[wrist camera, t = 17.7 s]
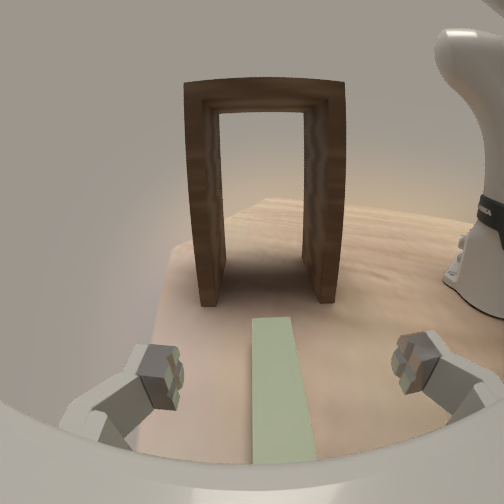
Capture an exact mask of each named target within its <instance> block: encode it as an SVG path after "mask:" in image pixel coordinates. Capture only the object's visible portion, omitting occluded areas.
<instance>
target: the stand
mask: <svg viewBox="0 0 504 504" xmlns="http://www.w3.org/2000/svg"><path fill="white" fill-rule="evenodd" d="M241 112H301V113H304V216H303V245H302V258H303V261H304V263H305V266H306V268H307V271H308V273H309V276H310V278H311V281H312V283H313V286H314V289H315V291H316V294H317V296H318V299H319V302H320V303H334V302H335V294H336V287H337V279H338V271H339V262H340V252H341V242H342V230H343V216H344V200H345V178H346V176H345V175H346V102H345V83H344V82H340V81H331V80H320V79H307V78H285V77H250V78H249V77H248V78H228V79H214V80H203V81H194V82H187V83H184V120H185V144H186V161H187V162H186V163H187V178H188V192H189V204H190V215H191V225H192V235H193V245H194V254H195V263H196V271H197V279H198V287H199V294H200V301H201V306H216V304H217V299H218V295H219V290H220V285H221V281H222V276H223V271H224V267H225V262H226V248H225V233H224V217H223V199H222V180H221V157H220V135H219V134H220V131H219V114H222V113H241Z"/></svg>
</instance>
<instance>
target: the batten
mask: <svg viewBox="0 0 504 504" xmlns="http://www.w3.org/2000/svg"><path fill="white" fill-rule="evenodd" d="M252 428H253V464H276V463H291V462H303V461H312V460H317V457H316V451H315V445H314V439H313V434H312V428H311V422H310V417H309V411H308V406H307V400H306V395H305V390H304V384H303V379H302V374H301V369H300V364H299V359H298V354H297V349H296V344H295V339H294V334H293V329H292V324H291V319H290V317H270V318H252Z"/></svg>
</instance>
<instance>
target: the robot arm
mask: <svg viewBox="0 0 504 504" xmlns="http://www.w3.org/2000/svg"><path fill="white" fill-rule="evenodd" d="M482 1H484V3H486V4H487V5H488V6H489V7H491V8H492V9H493V10H494V11H496V12H497V13H499V15H501V16H502V17H503V18H504V0H482ZM434 50H435V51H434V53H435V60H436V64H437V67H438V69H439V71H440V73H441V75H442V77H443V78H444V80H445V81H446V82H447V83H448V85H449V86H450V87H451V88H452V89H454V90H455V91H456V92H457V93H458V94H459V95H460V96H461V97H462V98H463V99H464V100H465V101H466V103H467V104H468V105H469V107H470V108H471V110H472V111H473V113H474V115H475V117H476V119H477V121H478V123H479V126H480V128H481V132H482V135H483V140H484V147H485V181H484V191H483V195H481V197H480V202H479V204H478V213H477V218H478V220H477V222H476V224H475V225H474V227H473V228H472V229H470V231H469V232H467V234H466V236H464V235H461V237H460V240H459V245H458V248H460V249H463V252H458V253H457V255H456V257H455V258H454V260H453V262H452V263H451V265H450V267H449V268H448V270H447V271H446V273H445V275H444V277H443V281H444V282H445V283H446V284H447V285H449V286H450V287H452V288H454V289H455V290H456V291H457V292H458V293H459V294H460V295H461V296H462V297H463V298H464V299H465V300H466V301H468V302H469V303H470V304H472V305H473V306H475V307H476V308H478V309H480V310H481V311H483V312H486V313H488V314H490V315H493V316H496V317H499V318H504V37H502V36H499V35H495V34H492V33H488V32H484V31H480V30H476V29H472V28H452V29H451V28H450V29H444V30H443V31H442V32H441V33H440V34H439V36H438V37H437V39H436V43H435V48H434ZM397 345H398V348H397V349H396V350H395V351H394V353H393V356H392V361H391V366H392V370H393V372H394V374H395V375H396V376H397V377H399V378H400V380H399V384H400V386H401V388H402V390H403V393H404V395H407V394H411V393H415V392H419V391H422V392H423V393H424V394H426V395H427V396H428V397H430V398H431V399H432V400H433V401H435V402H436V403H437V404H439V405H440V406H441V407H442V408H444V409H445V410H446V411H448V412H449V413H450V414H451V415H453V416H452V417H451V418H450V419H449V421H448V422H447V424H446V426H444V427H442V428H440V429H437V430H434V431H432V432H429V433H426V434H424V435H421V436H418V437H415V438H412V439H409V440H406V441H403V442H399V443H396V444H392V445H389V446H385V447H381V448H377V449H373V450H369V451H365V452H360V453H355V454H350V455H345V456H339V457H333V458H327V459H320V460H312V461H303V462H291V463H276V464H223V463H208V462H197V461H187V460H179V459H172V458H166V457H160V456H154V455H149V454H144V453H139V452H135V451H133V450H132V449H131V447H130V446H129V445H128V444H127V442H126V441H125V440H124V438H125V437H126V436H127V435H128V434H129V433H130V432H131V431H132V430H133V429H134V428H135V427H137V426H138V425H139V424H140V423H141V422H142V421H143V420H144V419H145V418H146V417H147V416H148V415H149V414H150V413H151V412H152V411H153V410H154V409H163V410H173V411H176V410H177V406H178V402H179V398H180V396H179V393H178V390H180V389H181V388H182V386H183V382H184V370H183V365H182V363H181V362H180V361H179V360H178V359H179V356H180V353H179V350H178V348H177V347H176V346H164V345H154V344H142V343H138V344H136V345H135V347H134V349H133V351H132V353H131V355H130V356H129V359H128V361H127V363H126V365H125V367H124V369H123V371H122V373H116V374H115V375H114V376H112V377H110V378H109V379H107V380H105V381H104V382H102V383H101V384H99V385H97V386H96V387H94V388H93V389H91V390H89V391H88V392H86V393H85V394H83V395H81V396H80V397H78V398H76V399H75V400H74V401H72V402H71V403H70V404H69V406H68V408H67V410H66V412H65V414H64V416H63V418H62V419H61V422H60V423H59V425H58V427H55V426H53V425H50V424H48V423H46V422H44V421H41V420H39V419H37V418H35V417H33V416H31V415H29V414H27V413H25V412H23V411H21V410H19V409H17V408H15V407H13V406H11V405H10V404H8V403H6V402H4V401H3V400H1V399H0V504H504V383H503V382H502V381H501V379H500V378H499V376H498V375H497V374H496V373H494V372H492V371H490V370H488V369H486V368H484V367H482V366H480V365H478V364H476V363H474V362H472V361H470V360H468V359H466V358H464V357H462V356H460V355H458V354H456V353H454V354H452V352H451V351H450V350H449V348H448V347H447V346H446V344H445V343H444V342H443V340H442V339H441V338H440V336H439V335H438V334H437V333H436V331H434V330H432V329H431V330H426V331H422V332H417V333H412V334H406V335H401V336H400V337H399V339H398V342H397Z"/></svg>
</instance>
